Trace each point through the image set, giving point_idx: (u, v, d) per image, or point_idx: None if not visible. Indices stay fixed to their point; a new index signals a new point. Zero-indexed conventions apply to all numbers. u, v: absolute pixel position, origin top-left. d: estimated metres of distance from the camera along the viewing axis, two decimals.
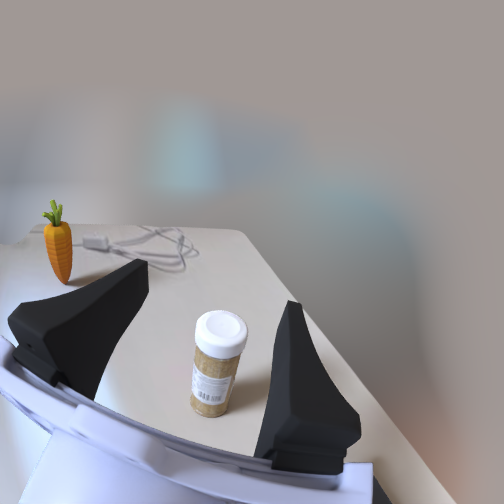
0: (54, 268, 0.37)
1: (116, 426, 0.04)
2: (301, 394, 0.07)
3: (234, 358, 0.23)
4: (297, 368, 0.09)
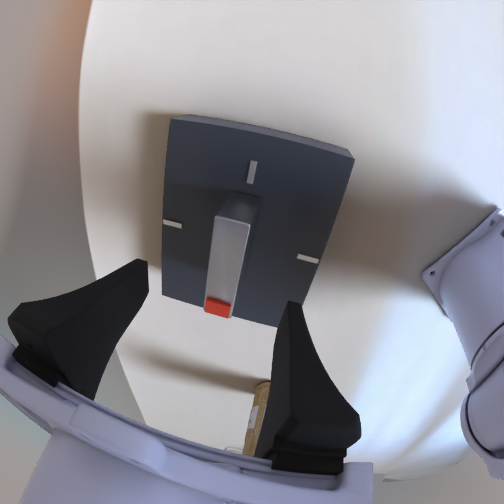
0: None
1: (116, 426, 0.04)
2: (301, 394, 0.07)
3: None
4: (297, 368, 0.09)
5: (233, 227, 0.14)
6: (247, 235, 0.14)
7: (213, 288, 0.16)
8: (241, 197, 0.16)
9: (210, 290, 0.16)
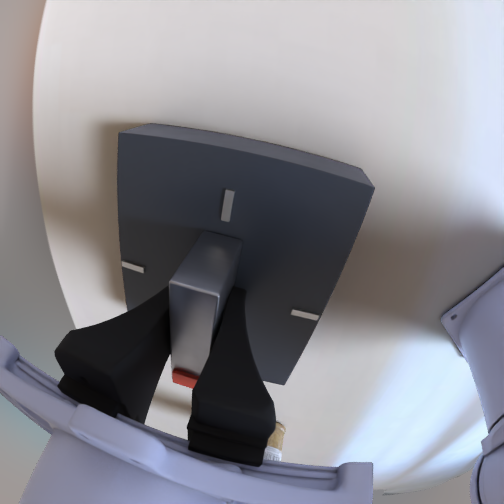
0: None
1: (116, 426, 0.04)
2: (214, 374, 0.08)
3: None
4: (220, 349, 0.09)
5: (196, 297, 0.09)
6: (216, 308, 0.09)
7: (180, 360, 0.12)
8: (213, 241, 0.12)
9: (176, 362, 0.12)
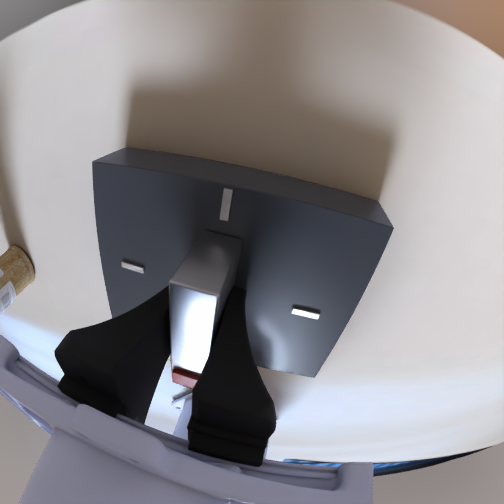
0: None
1: (116, 426, 0.04)
2: (214, 374, 0.08)
3: None
4: (220, 349, 0.09)
5: (196, 297, 0.09)
6: (216, 308, 0.09)
7: (180, 360, 0.11)
8: (213, 241, 0.12)
9: (176, 362, 0.12)
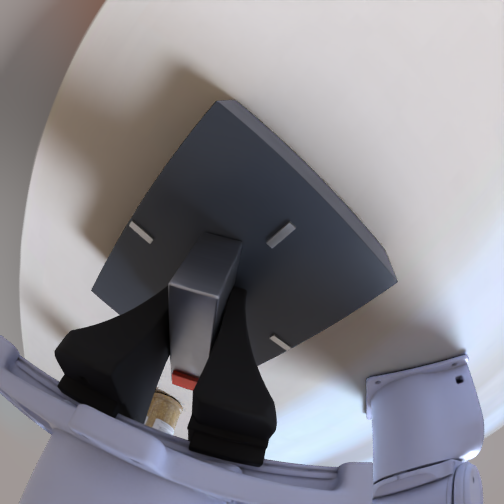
0: None
1: (116, 426, 0.04)
2: (214, 374, 0.08)
3: None
4: (220, 349, 0.09)
5: (195, 299, 0.09)
6: (216, 310, 0.09)
7: (179, 362, 0.11)
8: (213, 242, 0.12)
9: (176, 364, 0.12)
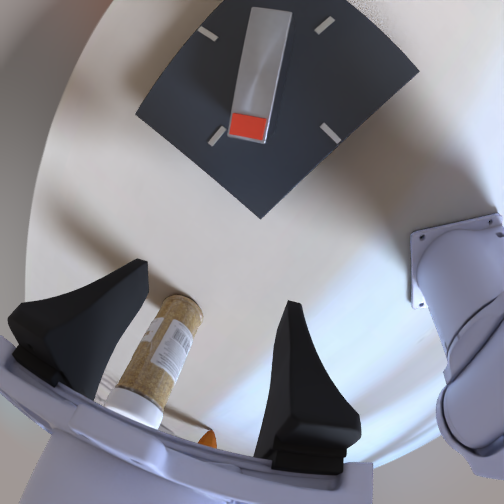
0: None
1: (116, 426, 0.04)
2: (301, 394, 0.07)
3: (139, 390, 0.18)
4: (297, 368, 0.09)
5: (273, 15, 0.09)
6: (289, 23, 0.09)
7: (244, 96, 0.11)
8: None
9: (239, 100, 0.11)
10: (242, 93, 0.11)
